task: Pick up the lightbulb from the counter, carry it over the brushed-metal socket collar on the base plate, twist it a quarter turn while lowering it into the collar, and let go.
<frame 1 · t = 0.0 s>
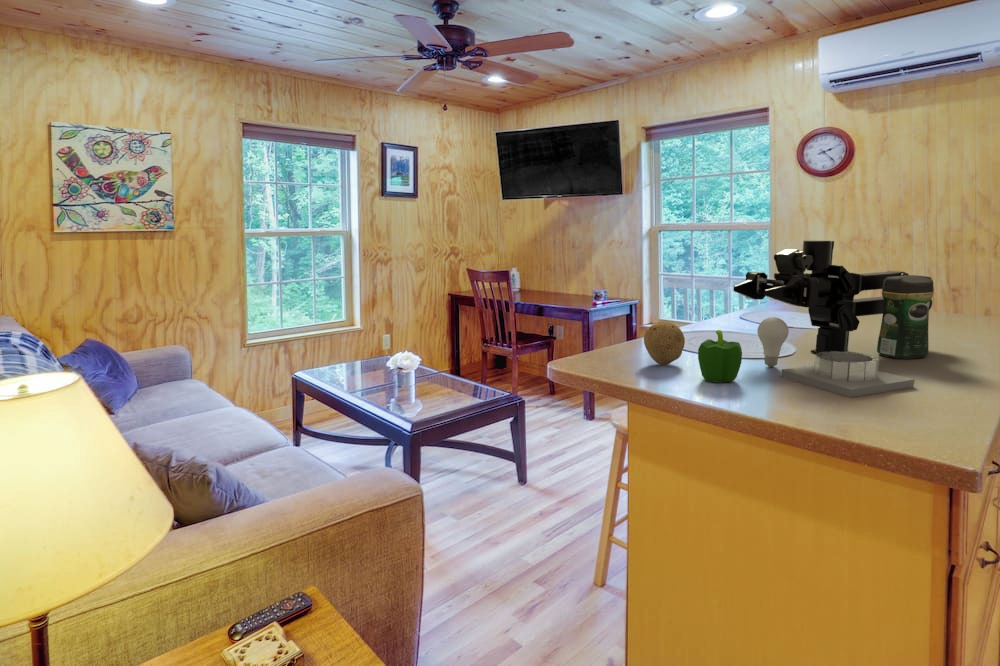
hand: (748, 290, 129), 17 cm above the worktop, tool horizontal, fingers open, 9 cm apart
socket collar: (845, 365, 116), on the socket plate, point 3 cm above the worktop
bell pepper: (719, 381, 120), on the worktop
natural sponge: (663, 365, 134), on the worktop
coffee jar: (900, 356, 137), on the worktop
lightbulb: (770, 368, 129), on the worktop
socket plate: (844, 381, 117), on the worktop
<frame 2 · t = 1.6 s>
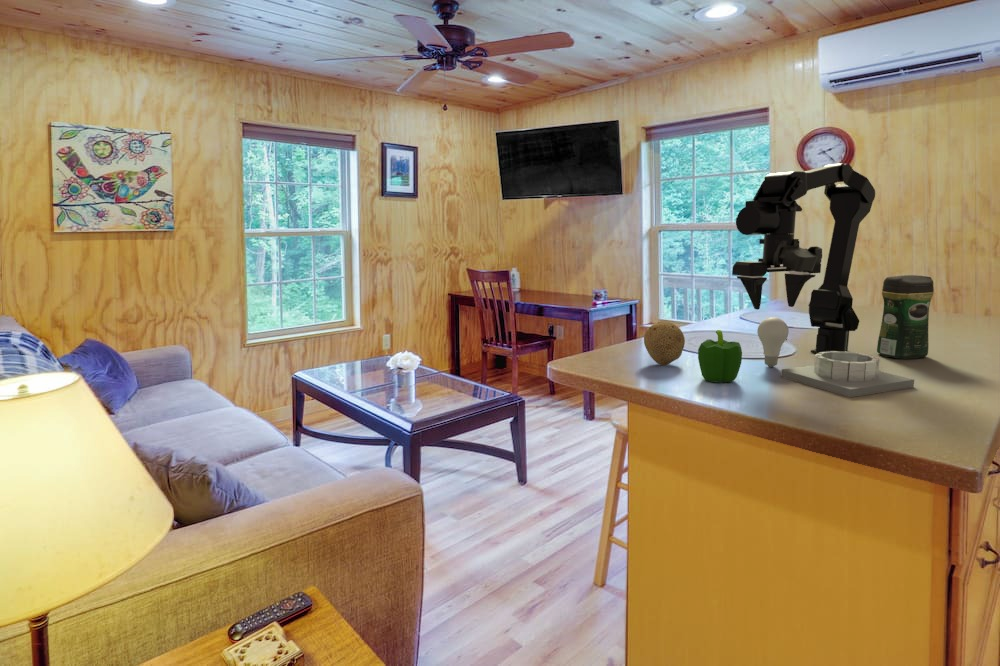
hand: (774, 307, 127), 13 cm above the worktop, tool pointing down, fingers open, 9 cm apart
nothing on the worktop moved.
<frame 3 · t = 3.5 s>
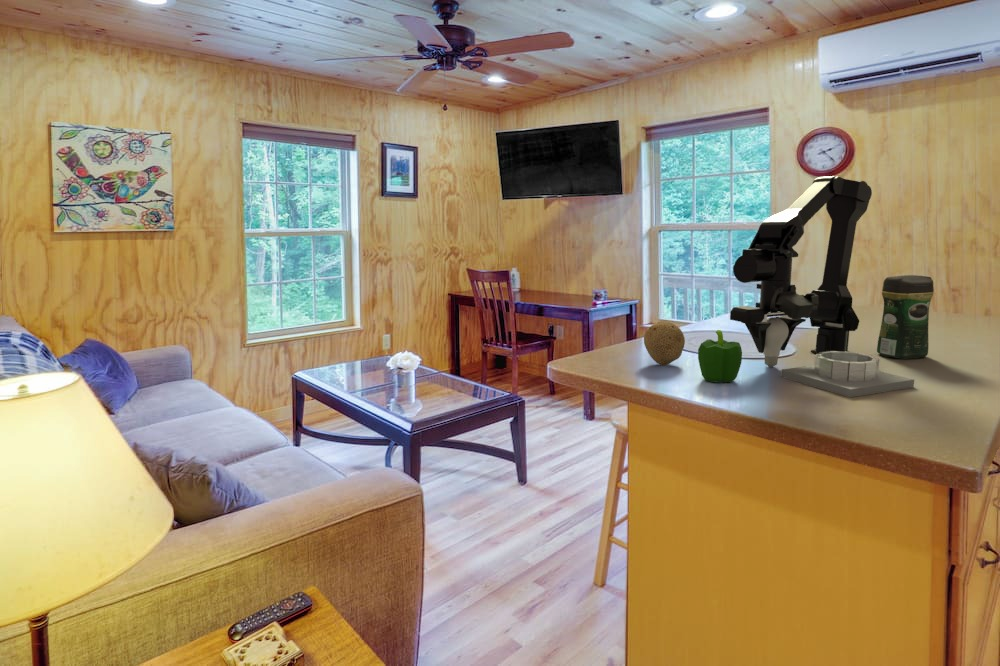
hand: (771, 351, 129), 4 cm above the worktop, tool pointing down, fingers closed on lightbulb, 5 cm apart
lightbulb: (770, 368, 129), on the worktop, touching gripper
everything else where it was.
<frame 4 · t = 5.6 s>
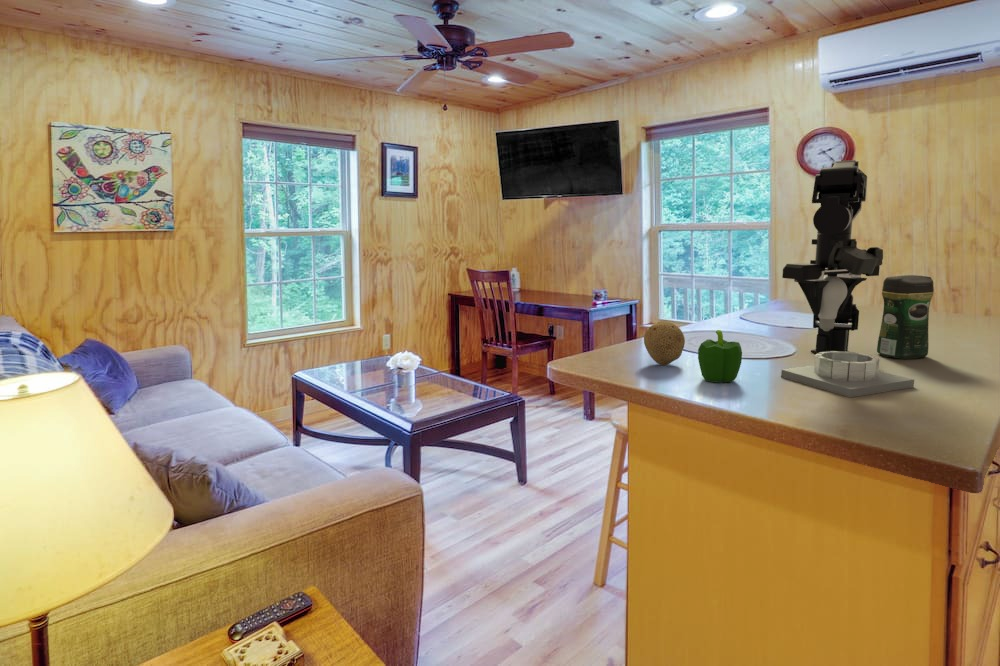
hand: (827, 313, 117), 13 cm above the worktop, tool pointing down, fingers closed on lightbulb, 5 cm apart
lightbulb: (826, 332, 118), point 9 cm above the worktop, touching gripper
everything else where it was.
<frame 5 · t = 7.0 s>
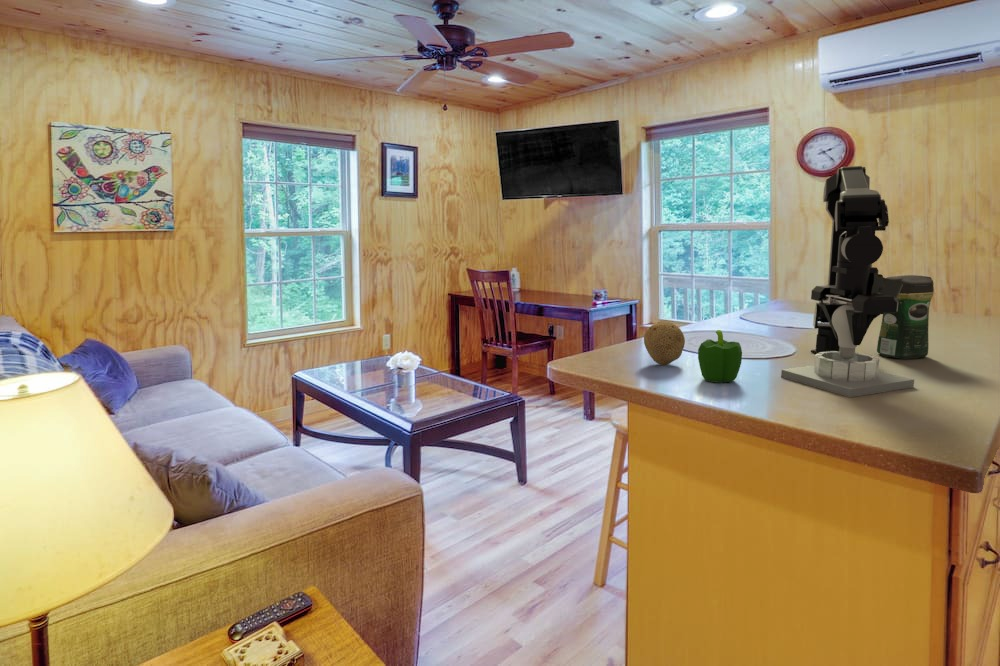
hand: (847, 342, 115), 8 cm above the worktop, tool pointing down, fingers closed on lightbulb, 5 cm apart
lightbulb: (846, 360, 116), point 4 cm above the worktop, touching gripper
everything else where it was.
when the fingers open (6 cm above the worktop, at t = 8.1 s): lightbulb drops 1 cm, resting on socket plate.
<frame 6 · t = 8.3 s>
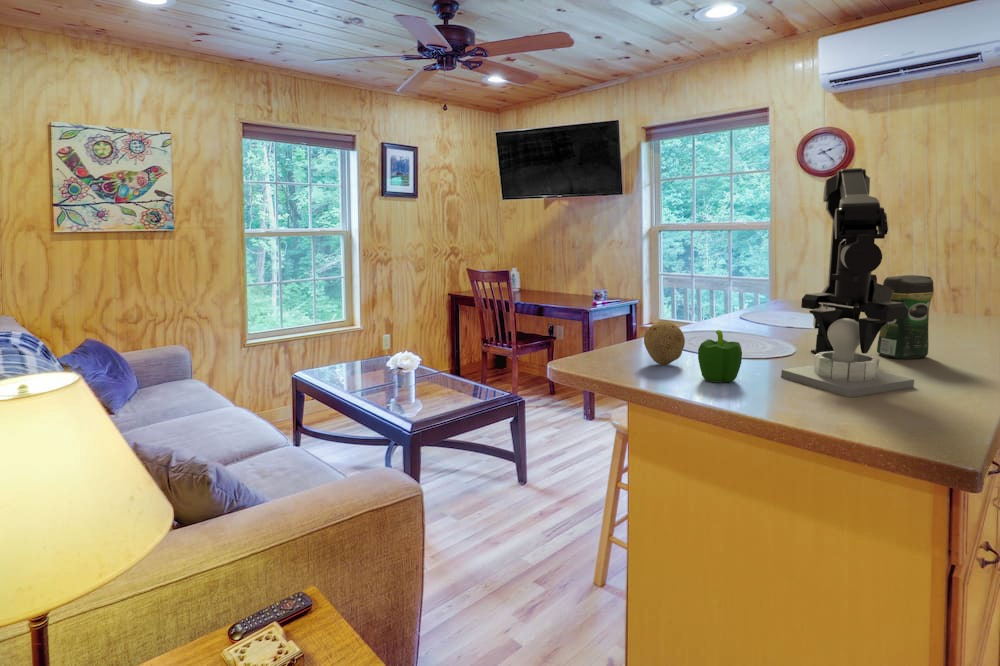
hand: (847, 349, 115), 6 cm above the worktop, tool pointing down, fingers open, 7 cm apart
lightbulb: (842, 374, 117), point 1 cm above the worktop, touching socket plate
everything else where it was.
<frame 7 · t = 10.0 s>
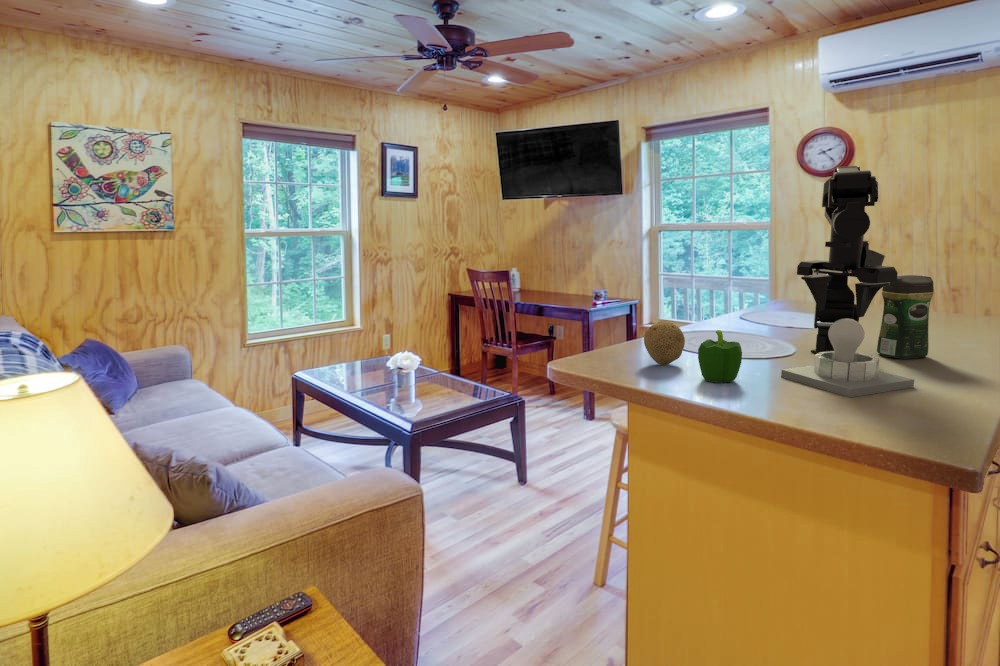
hand: (840, 313, 121), 12 cm above the worktop, tool pointing down, fingers open, 9 cm apart
nothing on the worktop moved.
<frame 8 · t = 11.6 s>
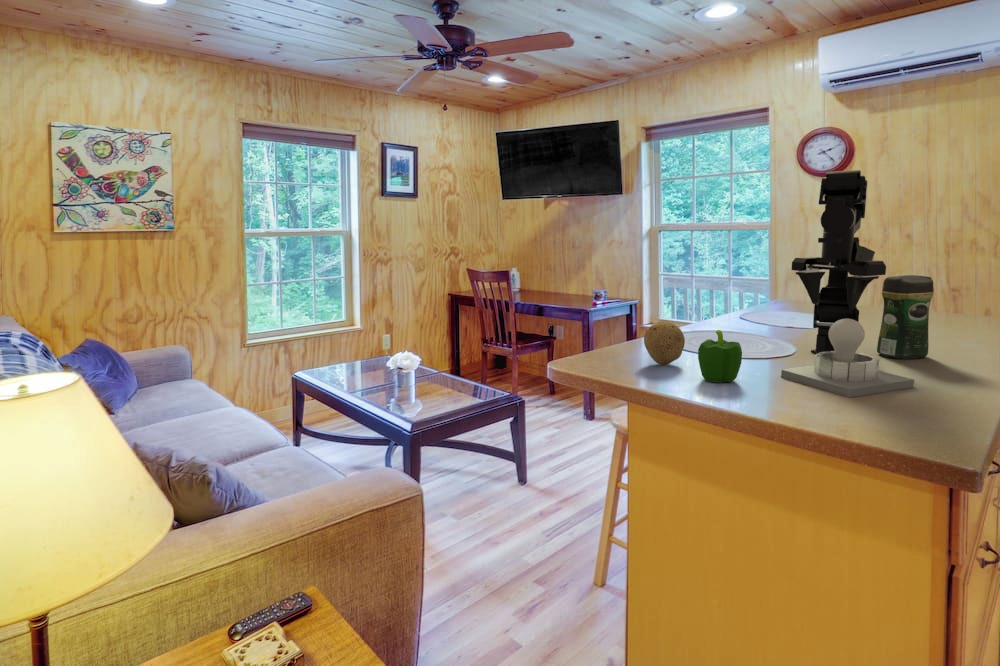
hand: (832, 306, 127), 13 cm above the worktop, tool pointing down, fingers open, 9 cm apart
nothing on the worktop moved.
at the end: lightbulb 0.5 cm off-centre on the socket collar, point 1.3 cm above the socket collar's base; lightbulb tilted 0°; the gripper is holding nothing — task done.
